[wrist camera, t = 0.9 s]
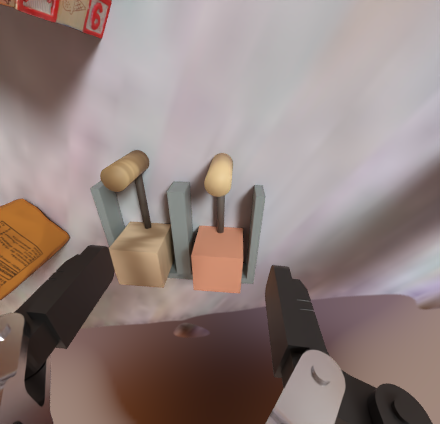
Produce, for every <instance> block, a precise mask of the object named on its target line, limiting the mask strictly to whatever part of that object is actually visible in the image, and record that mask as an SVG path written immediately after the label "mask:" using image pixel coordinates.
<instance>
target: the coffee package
mask: <svg viewBox="0 0 440 424" xmlns="http://www.w3.org/2000/svg"><path fill="white" fill-rule="evenodd" d="M68 240H69V235H68V234H67V232H65V231H64V230H62V229H61V228H60V227H58V226H57V225H56V224H54V223H53V222H51V221H50V220H48V219H47V218H46V217H45V216H44V215H43V213H42V212H41V211H40V210H39V209H38V208H37V207H35V206H34V205H32V204H30V203H29V202H27V201H26V200H24V199H17V200H15V201H12V202H10V203H8V204H5V205H3V206H0V300H1V299H3V298H4V297H5V296H7V295H8V294H9V293H11V292H12V291H13V290H14V289H15V288H17V287H18V286H19V285H20V284H21V283H22V282H23V281H24V280H25V279H27V278H28V277H29V276H30V275H31V274H32V273H34V272H35V271H36V270H37V269H38V268H39V267H40V266H42V265H43V264H44V263H45V262H46V261H47V260H48V259H49V258H51V257H52V256H53V255H54V254H55V253H56V252H57V251H58V250H59V249H61V248H62V247H63V246H64V245H65V243H66V242H67V241H68Z"/></svg>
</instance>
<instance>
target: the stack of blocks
mask: <svg viewBox="0 0 440 424" xmlns="http://www.w3.org/2000/svg"><path fill="white" fill-rule="evenodd" d="M111 1H112V0H0V4H2V5H6V6H9V7H13V8H15V9H17V10H19V11H21V12H24V13H27V14H29V15H32V16H35V17H38V18H41V19H44V20H48V21H51V22H56V23H59V24H62V25H65V26H69V27H71V28H74V29H77V30H79V31H81V32H83V33H86V34H89V35H93V36H95V37H98V38H102V37H103V33H104V29H105V25H106V22H107V18H108V14H109V10H110V6H111Z"/></svg>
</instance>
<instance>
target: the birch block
mask: <svg viewBox="0 0 440 424" xmlns="http://www.w3.org/2000/svg"><path fill="white" fill-rule="evenodd" d="M148 166H149V159H148V157H147V155H146V154H145V153H144V152H142V151H139V150H134V151H132V152H130V153H129V154H127V155H126V156H124V157H122V158H121V159H119V160H118V161H116V162H114V163H113V164H111V165H109V166H108V167H106V168H105V169H103V170H102V172H101V175H100V177H101V181H102V183H103V184H104V186H105V187H106V188H108V189H109V190H111V191H114V192H120V191H122V190H124V189H125V188H126V187H127V186H128V185H129V184H130V183H132V182H133V181H134V180H135V184H136V188H137V193H138V198H139V203H140V208H141V212H142V217H143V222H144V223H143V222H130V223H129V224H128V225H127V226H126V228H125V229H124V230H123V231H122V233H121V234H120V235H119V236H118V238H117V239H116V240H115V241H114V243H113V244H112V245H111V246H110V248H109V251H110V255H111V258H112V262H113V266H114V270H115V272H116V275H117V278H118V281H119V284H123V285H136V286H149V287H162V288H164V285H165V283H166V280H167V277H168V275H169V272H170V269H171V267H172V264H173V261H174V259H175V253H174V245H173V237H172V229H171V224H160V223H151V221H150V216H149V211H148V205H147V200H146V195H145V189H144V184H143V179H142V173H143V172H144V171H145V170H146V169H147V168H148Z"/></svg>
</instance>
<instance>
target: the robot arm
mask: <svg viewBox="0 0 440 424" xmlns="http://www.w3.org/2000/svg"><path fill="white" fill-rule="evenodd" d="M113 276H114V266H113V262H112V258H111V255H110V251H109V248H108V247H105V246H96V245H90V246H88V247H87V248H86V249H85V250H84V251H83V252H82V253H81V254H80V255H78V254H77V255H75V256H74V257H72V258H71V259H69V260H67V261H66V262H65V263H64V264H63V265H62V266H61V267H60V268H59V269H58V270H57V271H56V272H55V273H54V274H53V275H52V276H51V277H50V278H49V280H47V281H46V282H45V283H44V284H43V285H42V286H41V287H40V288H39V289H38V290H37V291H36V292H35V293H34V294H33V295H32V296H31V297H30V298H29V299H28V300H27V301H26V302H25V303H24V304H23V305H22V306H21V307H20V308H19V309H18V310H16V311H15V312H14V313H7V314H4V315H1V316H0V424H53V419H52V417H51V413H50V383H51V381H50V380H51V356H50V354H51V353H52V351H53V350H54V348H55V347H56V348H64V349H67V348H68V346H69V345H70V343H71V342H72V340H73V339H74V337H75V336H76V334H77V332H78V331H79V329H80V328H81V326H82V325H83V323H84V322H85V320H86V319H87V317H88V316H89V314H90V313H91V311H92V310H93V308H94V307H95V305H96V304H97V302H98V301H99V299H100V298H101V296H102V295H103V293H104V292H105V290H106V289H107V287H108V286H109V284H110V283H111V281H112V279H113ZM265 301H266V310H267V318H268V327H269V336H270V345H271V354H272V363H273V372H274V377H278V378H282V381H283V387H284V390H283V392H282V394H281V396H280V398H279V399H278V401H277V403H276V405H275V408H274V409H273V411H272V413H271V415H270V416H269V418H268V420H267V422H266V424H432V422H431V420H430V418H429V416H428V415H427V413H426V411H425V410H424V409H423V407H422V406H421V405H420V404H419V402H418V401H417V400H416V399H415V398H414V397H412V396H411V395H410V394H409V393H408V392H406V391H405V390H403V389H402V388H400V387H398V386H396V385H393V384H382V385H380V386H379V387H378V388H375V387H373V386H371V385H369V384H367V383H365V382H363V381H360V380H358V379H356V378H354V377H352V376H350V375H348V374H347V373H345V372H344V371H342V370H341V369H340V367H339V366H338V364H337V363H336V362H335V361H334V360H333V359H332V358H331V357H330V356H329V354H328V352H327V349H326V347H325V344H324V341H323V337H322V334H321V331H320V328H319V325H318V322H317V319H316V316H315V313H314V312H313V306H312V303H311V302H310V301H311V300H310V297H309V294H308V291H307V289H306V287H305V286H304V285H303V284H302V282H301V281H300V280H298V279H292V277H291V273H290V269H289V267H285V266H275V265H272V266H271V269H270V273H269V277H268V281H267V284H266V290H265Z"/></svg>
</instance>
